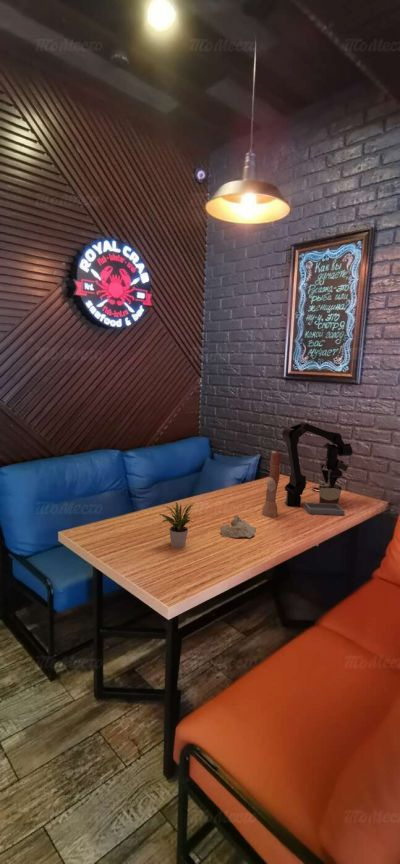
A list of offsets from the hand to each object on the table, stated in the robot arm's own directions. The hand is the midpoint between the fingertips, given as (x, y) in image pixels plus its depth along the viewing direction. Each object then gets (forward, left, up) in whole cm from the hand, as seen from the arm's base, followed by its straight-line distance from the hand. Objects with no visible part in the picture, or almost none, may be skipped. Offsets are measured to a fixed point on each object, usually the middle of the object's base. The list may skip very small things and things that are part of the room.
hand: (329, 485), depth 221 cm
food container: (0, 0, -9) cm, 9 cm away
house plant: (-76, -61, -9) cm, 98 cm away
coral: (-52, -47, -10) cm, 71 cm away
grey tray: (-7, -15, -9) cm, 19 cm away
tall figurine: (-34, -22, -9) cm, 41 cm away
